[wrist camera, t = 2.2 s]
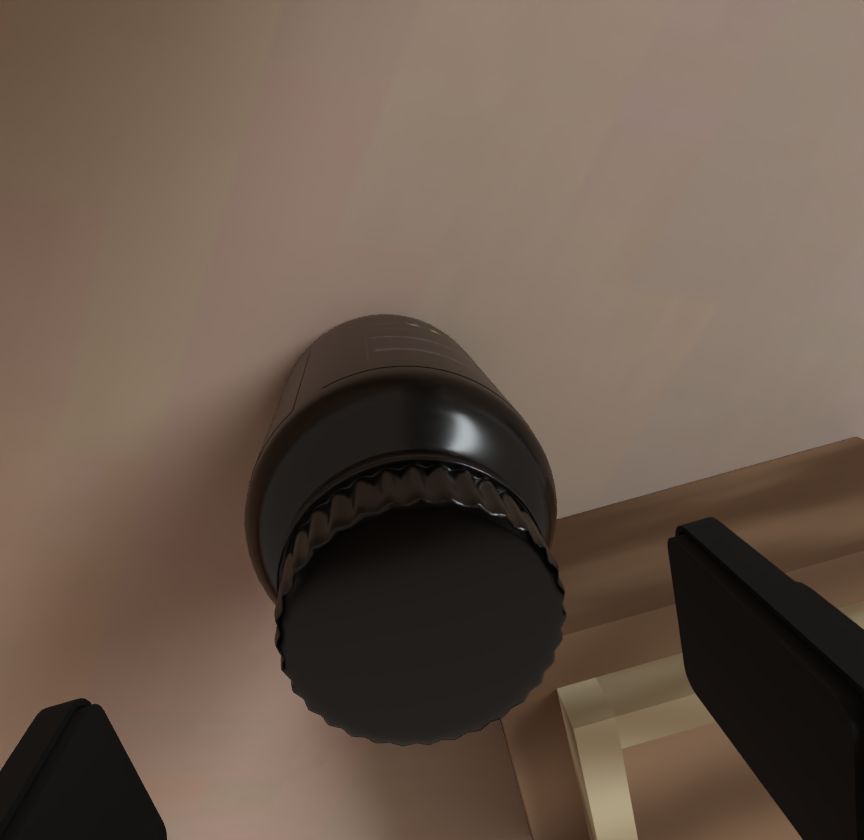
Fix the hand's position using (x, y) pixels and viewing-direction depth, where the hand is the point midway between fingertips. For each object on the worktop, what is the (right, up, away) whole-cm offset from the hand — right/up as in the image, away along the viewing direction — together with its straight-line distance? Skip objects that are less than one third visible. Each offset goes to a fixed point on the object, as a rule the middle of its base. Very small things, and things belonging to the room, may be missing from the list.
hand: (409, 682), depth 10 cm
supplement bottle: (-1, +5, +11) cm, 12 cm away
